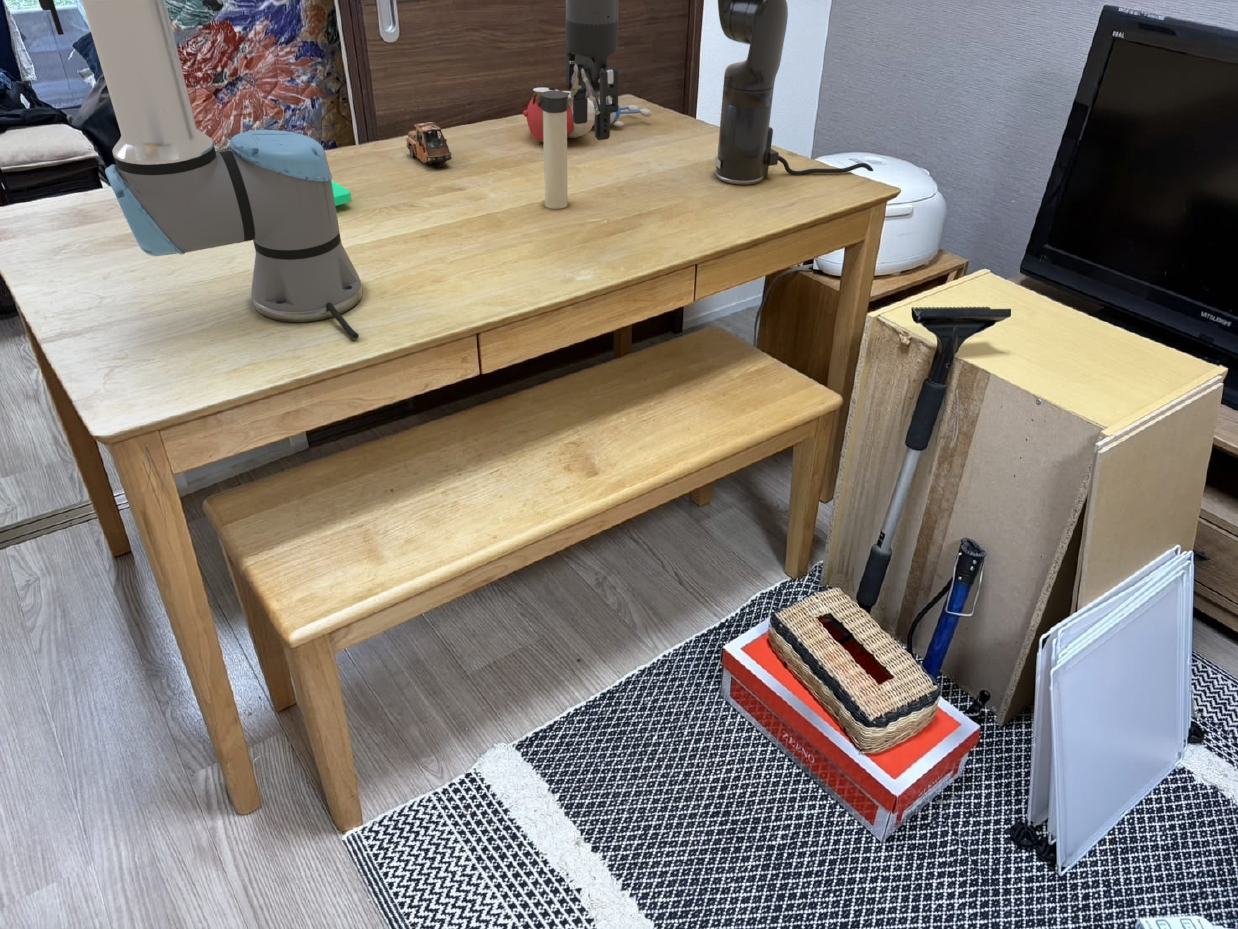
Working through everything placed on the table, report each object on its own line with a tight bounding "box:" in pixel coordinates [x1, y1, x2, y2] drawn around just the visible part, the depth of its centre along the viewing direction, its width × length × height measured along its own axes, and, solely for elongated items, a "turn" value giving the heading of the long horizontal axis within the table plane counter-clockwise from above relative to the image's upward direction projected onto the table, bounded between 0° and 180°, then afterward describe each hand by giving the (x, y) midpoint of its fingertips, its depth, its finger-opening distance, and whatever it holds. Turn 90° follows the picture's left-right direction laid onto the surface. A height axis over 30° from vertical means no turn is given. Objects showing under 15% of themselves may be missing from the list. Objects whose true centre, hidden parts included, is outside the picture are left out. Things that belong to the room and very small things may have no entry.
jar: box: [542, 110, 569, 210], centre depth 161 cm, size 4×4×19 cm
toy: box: [522, 86, 652, 143], centre depth 198 cm, size 18×10×30 cm
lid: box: [541, 90, 568, 112], centre depth 156 cm, size 5×5×2 cm
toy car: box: [405, 121, 453, 169], centre depth 181 cm, size 6×12×7 cm, turn 39°
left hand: (108, 29), depth 146 cm, fingers open, 13 cm apart
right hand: (590, 130), depth 142 cm, fingers open, 8 cm apart
